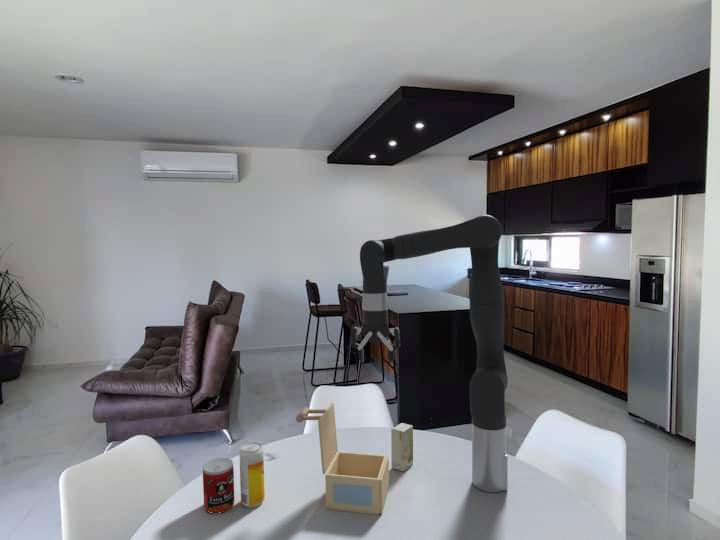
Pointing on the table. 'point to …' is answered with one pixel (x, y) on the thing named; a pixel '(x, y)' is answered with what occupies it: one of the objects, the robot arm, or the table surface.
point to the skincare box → (402, 446)
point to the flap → (323, 432)
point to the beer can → (252, 474)
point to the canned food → (218, 485)
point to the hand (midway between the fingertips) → (376, 362)
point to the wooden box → (357, 483)
